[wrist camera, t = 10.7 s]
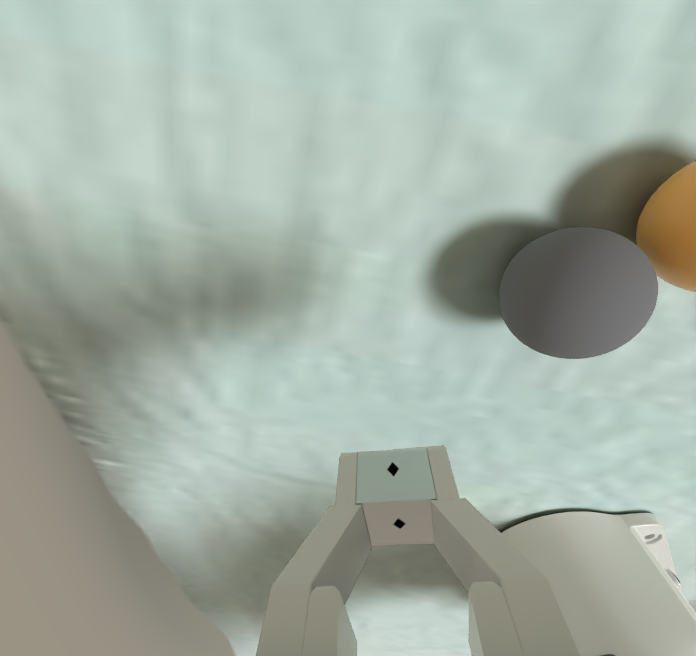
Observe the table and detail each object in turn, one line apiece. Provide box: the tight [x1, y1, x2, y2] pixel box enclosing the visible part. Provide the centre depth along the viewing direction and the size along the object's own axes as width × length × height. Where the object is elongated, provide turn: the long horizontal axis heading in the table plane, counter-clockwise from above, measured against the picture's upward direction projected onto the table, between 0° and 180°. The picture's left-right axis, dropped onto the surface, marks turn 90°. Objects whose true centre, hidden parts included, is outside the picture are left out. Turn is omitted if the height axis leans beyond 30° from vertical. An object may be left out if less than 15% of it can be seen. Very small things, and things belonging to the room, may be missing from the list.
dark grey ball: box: [498, 227, 658, 359], centre depth 15 cm, size 6×6×6 cm
